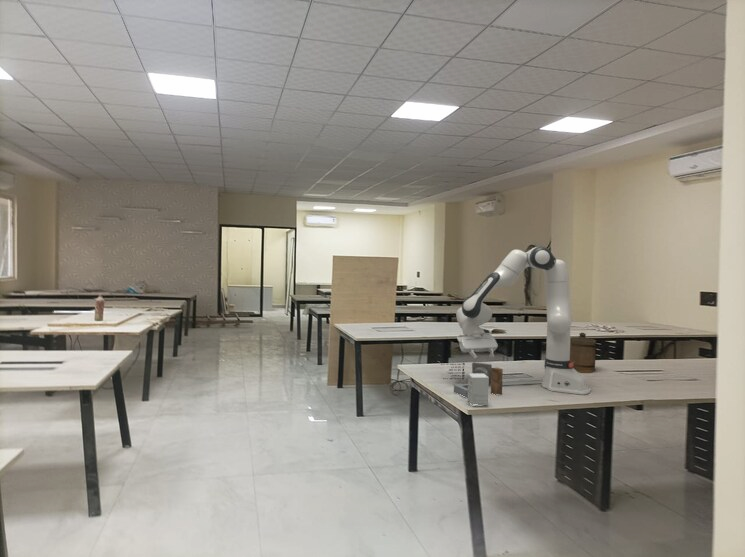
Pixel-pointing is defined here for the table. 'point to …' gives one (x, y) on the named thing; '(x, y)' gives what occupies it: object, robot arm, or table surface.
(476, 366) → the voltmeter
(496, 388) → the walnut peg
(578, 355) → the wooden container
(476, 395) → the supplement box
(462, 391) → the slate socket
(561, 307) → the robot arm
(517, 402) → the table surface
